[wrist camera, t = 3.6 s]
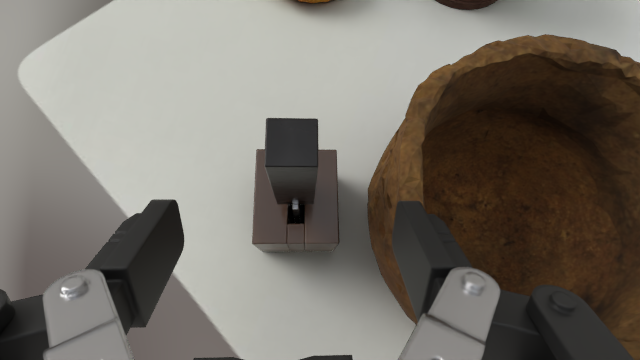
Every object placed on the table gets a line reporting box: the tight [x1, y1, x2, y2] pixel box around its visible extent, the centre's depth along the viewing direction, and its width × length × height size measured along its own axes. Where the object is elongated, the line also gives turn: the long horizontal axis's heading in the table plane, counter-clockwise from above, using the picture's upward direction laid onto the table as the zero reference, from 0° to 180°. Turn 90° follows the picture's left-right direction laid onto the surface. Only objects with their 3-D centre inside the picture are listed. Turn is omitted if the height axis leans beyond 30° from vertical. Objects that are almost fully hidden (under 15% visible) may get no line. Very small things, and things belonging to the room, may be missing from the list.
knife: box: [264, 118, 318, 224], centre depth 23 cm, size 2×3×16 cm
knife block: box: [252, 149, 339, 252], centre depth 27 cm, size 6×7×6 cm
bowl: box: [367, 34, 640, 360], centre depth 23 cm, size 19×19×15 cm
